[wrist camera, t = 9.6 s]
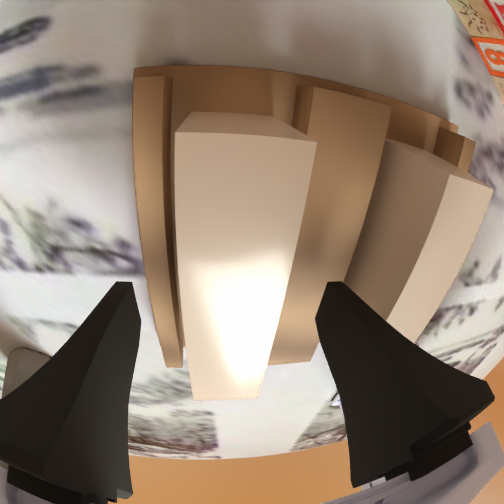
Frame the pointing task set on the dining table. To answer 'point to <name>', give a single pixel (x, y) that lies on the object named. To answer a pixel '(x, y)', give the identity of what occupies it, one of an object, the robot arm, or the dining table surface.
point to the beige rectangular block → (236, 242)
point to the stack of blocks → (485, 33)
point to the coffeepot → (21, 371)
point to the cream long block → (415, 235)
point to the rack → (320, 187)
